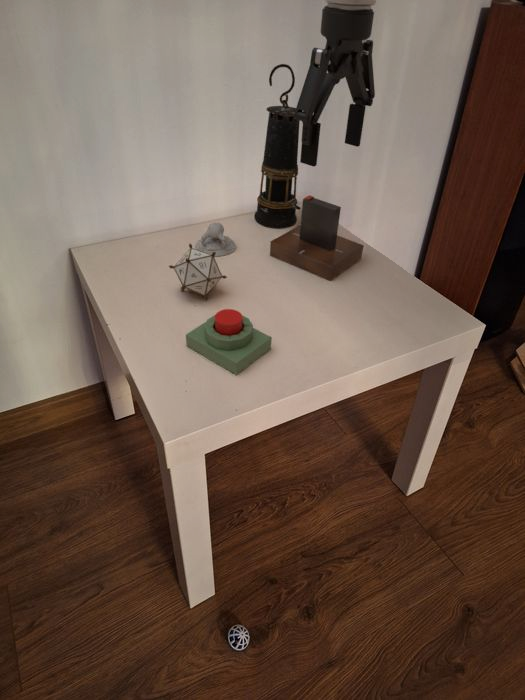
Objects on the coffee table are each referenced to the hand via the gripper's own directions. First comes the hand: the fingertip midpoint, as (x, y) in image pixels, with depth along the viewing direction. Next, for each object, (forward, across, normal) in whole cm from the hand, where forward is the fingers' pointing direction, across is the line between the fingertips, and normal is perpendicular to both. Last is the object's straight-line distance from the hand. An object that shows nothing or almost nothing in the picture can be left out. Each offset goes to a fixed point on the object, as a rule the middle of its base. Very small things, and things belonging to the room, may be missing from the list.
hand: (331, 154), depth 90 cm
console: (+20, 0, 0) cm, 20 cm away
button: (+16, +32, +5) cm, 37 cm away
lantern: (+20, -8, -16) cm, 27 cm away
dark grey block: (+17, 0, -1) cm, 17 cm away
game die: (+20, +24, -8) cm, 33 cm away
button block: (+20, +32, +6) cm, 38 cm away
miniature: (+20, +10, -18) cm, 29 cm away
